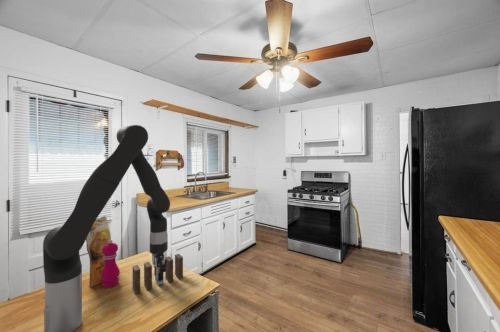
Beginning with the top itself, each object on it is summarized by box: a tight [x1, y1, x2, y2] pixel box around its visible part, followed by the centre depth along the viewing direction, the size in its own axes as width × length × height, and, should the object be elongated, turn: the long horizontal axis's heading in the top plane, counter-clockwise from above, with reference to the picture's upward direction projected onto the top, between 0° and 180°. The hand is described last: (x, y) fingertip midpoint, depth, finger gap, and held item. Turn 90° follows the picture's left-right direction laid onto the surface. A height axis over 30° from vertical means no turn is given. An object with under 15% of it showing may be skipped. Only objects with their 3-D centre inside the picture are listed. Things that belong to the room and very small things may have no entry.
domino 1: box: [132, 264, 141, 295], centre depth 92 cm, size 2×5×10 cm, turn 39°
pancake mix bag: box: [85, 215, 112, 288], centre depth 102 cm, size 7×19×28 cm, turn 3°
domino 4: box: [164, 256, 174, 284], centre depth 100 cm, size 2×5×10 cm, turn 39°
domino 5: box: [174, 253, 184, 280], centre depth 103 cm, size 2×5×10 cm, turn 39°
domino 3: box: [154, 261, 164, 286], centre depth 98 cm, size 2×5×10 cm, turn 39°
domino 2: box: [143, 261, 153, 291], centre depth 95 cm, size 2×5×10 cm, turn 39°
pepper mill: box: [101, 239, 121, 289], centre depth 97 cm, size 7×7×20 cm
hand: (158, 277), depth 97 cm, fingers closed on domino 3, 4 cm apart
